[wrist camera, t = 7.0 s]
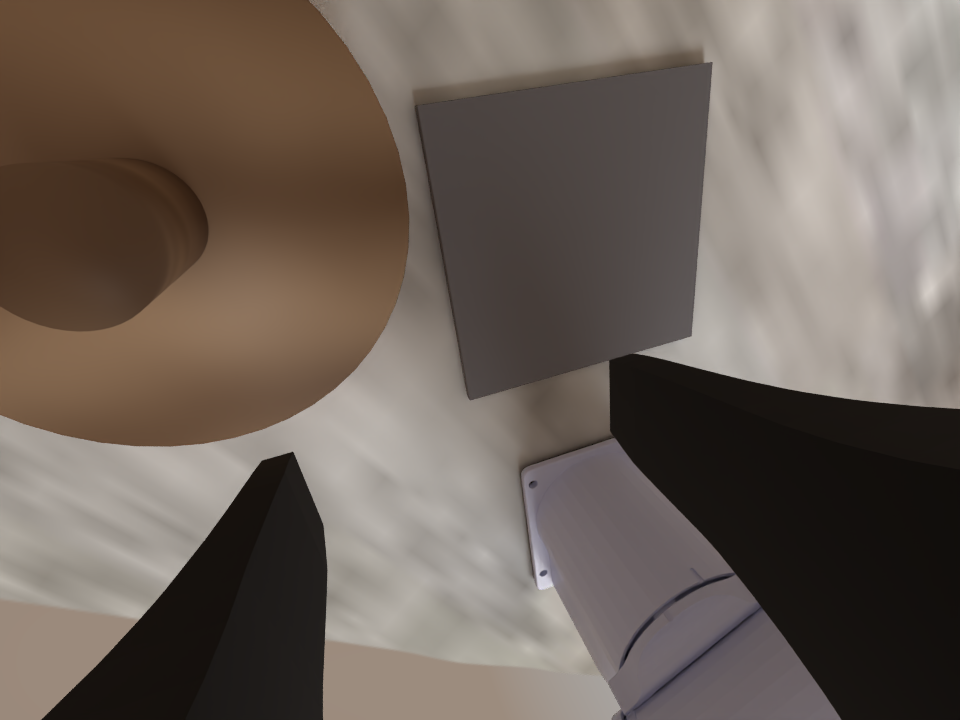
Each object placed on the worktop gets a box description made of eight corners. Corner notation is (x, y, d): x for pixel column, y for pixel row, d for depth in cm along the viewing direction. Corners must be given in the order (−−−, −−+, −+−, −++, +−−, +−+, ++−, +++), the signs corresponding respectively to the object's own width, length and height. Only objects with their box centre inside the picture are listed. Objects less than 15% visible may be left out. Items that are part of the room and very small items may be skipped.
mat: (686, 333, 24) (691, 336, 24) (467, 396, 21) (470, 400, 21) (704, 63, 18) (712, 62, 18) (415, 106, 16) (417, 105, 16)
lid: (450, 348, 16) (497, 421, 12) (52, 488, 14) (-70, 640, 10) (301, -165, 10) (283, -403, 6) (-447, -57, 8) (-1380, -305, 4)
